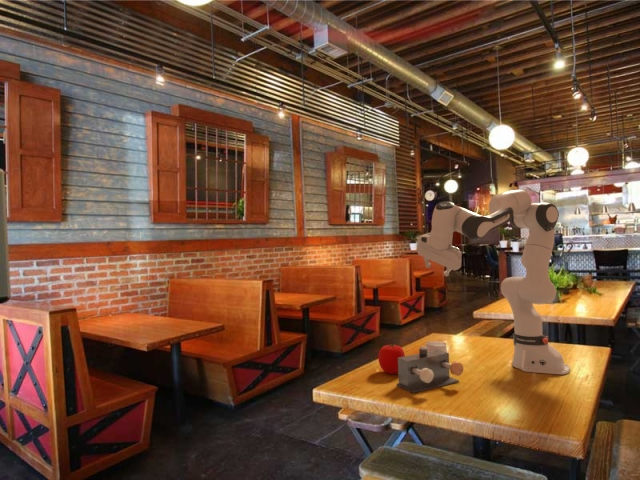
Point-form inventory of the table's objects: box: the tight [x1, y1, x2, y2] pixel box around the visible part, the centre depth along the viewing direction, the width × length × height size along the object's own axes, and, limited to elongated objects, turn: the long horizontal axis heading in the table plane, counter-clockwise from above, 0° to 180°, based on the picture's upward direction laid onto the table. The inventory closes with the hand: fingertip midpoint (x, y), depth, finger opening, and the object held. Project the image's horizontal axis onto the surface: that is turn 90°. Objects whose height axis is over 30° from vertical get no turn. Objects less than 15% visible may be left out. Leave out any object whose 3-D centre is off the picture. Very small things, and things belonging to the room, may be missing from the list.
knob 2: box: [441, 361, 464, 377], centre depth 172 cm, size 9×5×5 cm, turn 27°
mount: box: [396, 350, 460, 394], centre depth 173 cm, size 10×23×11 cm, turn 117°
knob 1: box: [411, 367, 434, 383], centre depth 165 cm, size 9×5×5 cm, turn 27°
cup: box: [425, 340, 448, 353], centre depth 188 cm, size 9×9×12 cm
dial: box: [418, 345, 428, 356], centre depth 174 cm, size 3×3×4 cm
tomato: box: [377, 343, 406, 375], centre depth 188 cm, size 12×12×13 cm
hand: (436, 271), depth 183 cm, fingers open, 8 cm apart
